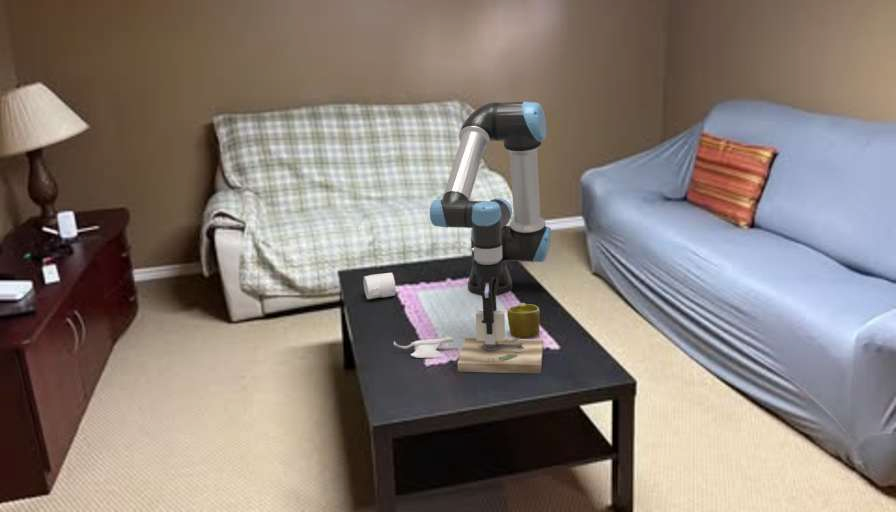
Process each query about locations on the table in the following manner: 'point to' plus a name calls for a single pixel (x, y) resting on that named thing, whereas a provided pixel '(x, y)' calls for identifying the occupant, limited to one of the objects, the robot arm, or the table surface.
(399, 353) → the table surface
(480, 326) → the white upright block
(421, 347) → the winged dragon toy
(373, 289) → the white cylinder
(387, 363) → the table surface
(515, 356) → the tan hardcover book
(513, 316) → the mug
